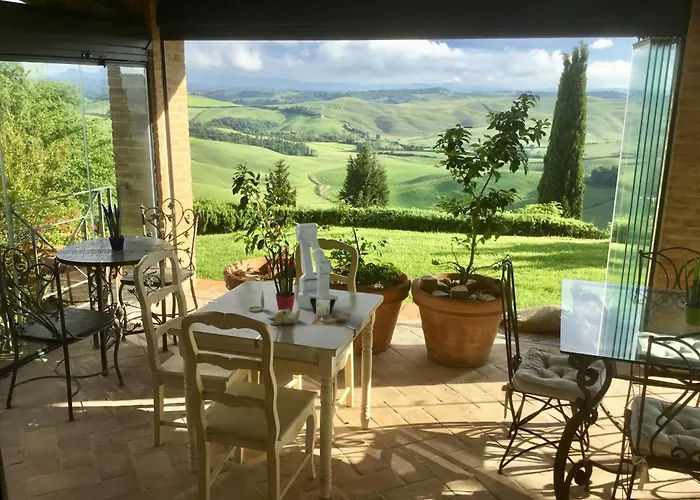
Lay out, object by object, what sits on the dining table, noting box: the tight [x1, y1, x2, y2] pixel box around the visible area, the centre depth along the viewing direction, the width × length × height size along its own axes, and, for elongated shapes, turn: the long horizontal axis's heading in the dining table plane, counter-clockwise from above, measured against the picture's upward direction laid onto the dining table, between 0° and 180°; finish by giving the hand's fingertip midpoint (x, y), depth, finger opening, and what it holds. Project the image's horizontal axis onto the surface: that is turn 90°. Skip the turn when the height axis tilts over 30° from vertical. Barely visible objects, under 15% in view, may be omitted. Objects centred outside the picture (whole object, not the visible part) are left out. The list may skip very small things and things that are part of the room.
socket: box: [315, 302, 330, 317], centre depth 282 cm, size 5×5×6 cm
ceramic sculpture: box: [267, 307, 301, 327], centre depth 272 cm, size 11×9×15 cm
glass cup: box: [248, 291, 265, 313], centre depth 291 cm, size 8×8×10 cm
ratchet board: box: [311, 311, 351, 328], centre depth 278 cm, size 16×19×6 cm
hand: (322, 313), depth 282 cm, fingers open, 7 cm apart
